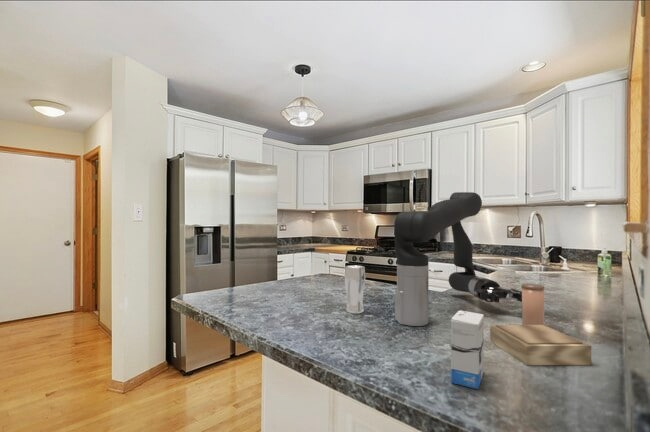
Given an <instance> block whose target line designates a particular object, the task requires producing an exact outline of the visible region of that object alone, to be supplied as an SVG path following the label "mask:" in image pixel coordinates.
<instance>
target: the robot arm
mask: <svg viewBox="0 0 650 432" xmlns="http://www.w3.org/2000/svg"><path fill="white" fill-rule="evenodd" d="M482 203H483V200H482V198H481V196H480V194H478V193H477V192H471V191H470V192H469V191H468V192H467V191H466V192H465V191H462V192H459V191H457V192H453V193H451V195H450V197H449V199H444V200H441V201H438V202H435V203H434V204H432V205H431V206H430V208H429V210H428V211H401V212H398V214H397V215H396V217H395V219H394V227H393V229H394V230H393V231H394V235H393V236H394V251H395V252H394V253H395V258H396V287H395V289H394V319H395V320H396V322H398V324H399V325H405V326H412V327H423V326H427V325H428V324H429V319H430V318H429V317H430V314H429V257H428V255H426V254H425V253H423V252H421V251H420V250H418V249H416V247H415V246H414V243H426V242H429V241H431V240H432V239H434V237H436V235H438V234H440V232H442V231H444V230H446V229H448V228H450V227H451V232H452V239H453V264H454V266H455V267H458V268H463V269H464V271H456V272H452V273H451V274H449V276H448V284H449V286H450V288H452V289H453V290H454V291H458V292H464V293H465V292H466V293H469V294H470V295H472V296H474V298H477V299H478V300H481V301H485V302H487V303H497V304H499V303H500V300H501V301H502V300H506V301H513V300H514V301H519V302H521V303H522V290H518V289H514V288H510V289H509V288H505V287H502V286H500V284H499V283H498V282H497V281H495V280H493V279H489V278H485V277H482V276H477V274H476V271H475V268H474V267H475V266H474V264H473V255H474V254H473V253H474V251H473V250H474V249H473V244H472V241H471V239H470V237H469V236H468V234H467V233H466V231H465V230H464V227H463V225H462V221H463V220H465V219H466V218H470V217H474V216H477V215H478V214H479V213H480V212H481V209H482V205H483V204H482Z"/></svg>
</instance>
